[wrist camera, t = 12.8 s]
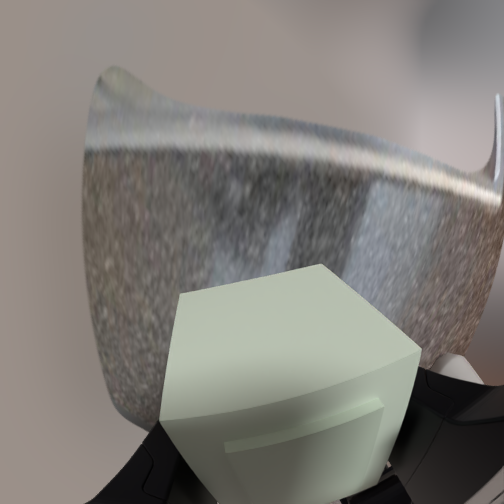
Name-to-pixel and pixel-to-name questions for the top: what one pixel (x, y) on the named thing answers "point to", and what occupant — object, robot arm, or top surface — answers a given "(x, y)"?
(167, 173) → the top surface
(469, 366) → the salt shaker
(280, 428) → the pale green block
